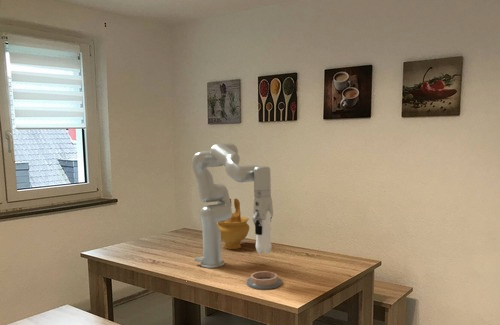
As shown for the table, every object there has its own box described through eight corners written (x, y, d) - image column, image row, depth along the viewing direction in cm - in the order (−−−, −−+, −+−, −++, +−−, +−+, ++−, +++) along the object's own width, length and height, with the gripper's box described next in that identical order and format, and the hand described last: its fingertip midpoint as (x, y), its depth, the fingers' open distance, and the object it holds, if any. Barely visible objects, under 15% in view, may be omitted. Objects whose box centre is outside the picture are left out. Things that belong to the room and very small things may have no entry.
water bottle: (255, 251, 184) (253, 197, 182) (270, 250, 184) (269, 196, 183) (256, 255, 177) (255, 199, 175) (272, 254, 177) (271, 198, 176)
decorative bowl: (211, 250, 238) (209, 200, 237) (221, 241, 259) (220, 196, 257) (245, 252, 234) (244, 201, 232) (253, 243, 254) (252, 196, 253)
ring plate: (249, 290, 172) (249, 282, 172) (244, 278, 188) (244, 271, 188) (285, 288, 174) (285, 280, 174) (277, 276, 190) (277, 269, 190)
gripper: (259, 196, 170) (260, 237, 171) (278, 191, 185) (279, 229, 185) (245, 195, 174) (245, 235, 175) (264, 191, 189) (265, 228, 189)
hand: (263, 232), depth 180 cm, fingers closed on water bottle, 7 cm apart
